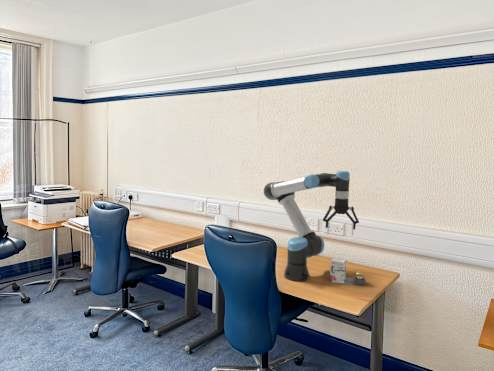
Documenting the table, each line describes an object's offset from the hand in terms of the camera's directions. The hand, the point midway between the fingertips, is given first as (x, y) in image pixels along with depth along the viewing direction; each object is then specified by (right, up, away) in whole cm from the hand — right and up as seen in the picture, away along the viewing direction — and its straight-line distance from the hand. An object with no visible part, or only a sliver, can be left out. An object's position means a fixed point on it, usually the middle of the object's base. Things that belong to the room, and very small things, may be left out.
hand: (340, 234), depth 221 cm
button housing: (+11, -28, -1) cm, 30 cm away
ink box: (-1, -28, +3) cm, 28 cm away
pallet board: (+5, -29, +2) cm, 29 cm away
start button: (+11, -28, -1) cm, 30 cm away
